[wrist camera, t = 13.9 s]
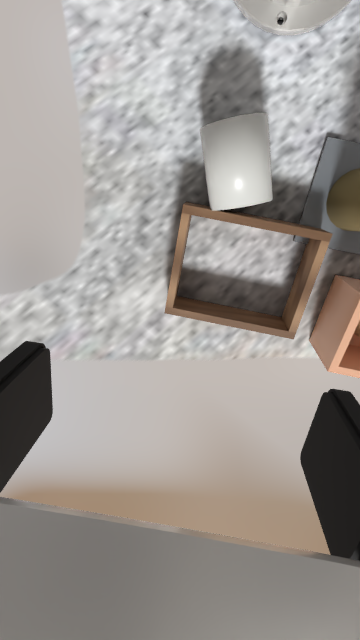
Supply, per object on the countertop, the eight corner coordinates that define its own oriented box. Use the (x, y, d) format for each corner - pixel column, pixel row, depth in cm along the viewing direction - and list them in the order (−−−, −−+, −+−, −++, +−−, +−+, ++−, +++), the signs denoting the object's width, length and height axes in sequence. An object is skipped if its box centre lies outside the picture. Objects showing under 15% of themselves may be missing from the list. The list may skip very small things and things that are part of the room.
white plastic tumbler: (201, 134, 31) (198, 124, 26) (262, 121, 30) (273, 107, 25) (210, 207, 34) (209, 212, 28) (267, 197, 33) (278, 201, 28)
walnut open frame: (186, 201, 34) (183, 204, 30) (319, 228, 34) (332, 233, 30) (169, 300, 39) (164, 313, 35) (285, 324, 38) (293, 339, 35)
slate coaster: (326, 137, 30) (328, 136, 30) (429, 157, 30) (432, 156, 30) (293, 240, 34) (294, 241, 34) (383, 258, 34) (385, 259, 34)
